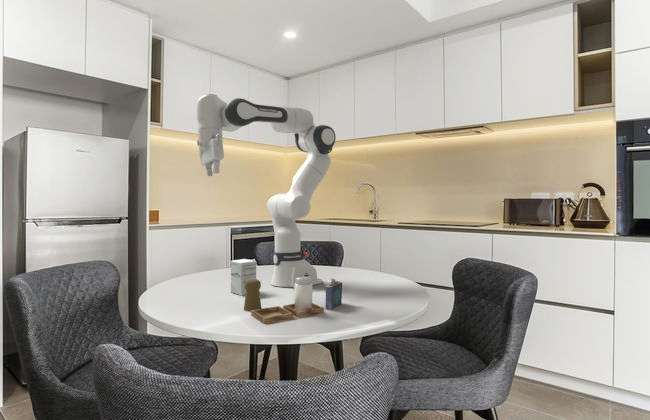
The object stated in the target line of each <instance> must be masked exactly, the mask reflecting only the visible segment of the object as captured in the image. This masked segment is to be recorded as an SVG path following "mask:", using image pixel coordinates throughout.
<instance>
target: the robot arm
mask: <svg viewBox="0 0 650 420" xmlns="http://www.w3.org/2000/svg"><path fill="white" fill-rule="evenodd" d="M196 120H197V123H198V125H197V142H196V143H197V147H198V151H199V159H200V164H201V166H205V171H206V175H207V177H213V176H214V175H213V174H219V173H220V166H221V161H222V160H223V159H224V157H225V153H224V145H223V142H224V140H223V131H224V132H228V133H229V132H230V133H231V132H232V133H233V132H235V131H238V130H239V129H241V128H243V127H245V126H247V125H250V124H252V123H254V122H255V123H256V122H258V123H270V126H271V128H272V129H273V131H275V132H276V133H281V134H294V142H295V145H296V148H297V149H298V150H299V151H300V152H303V153H307V157H306V158H305V159H306V160H304V161H303V163H302V164H301V166H300V167H299V168H298V170H297V171H296V173H295V174H294V175H293V177H292V180H291V182H292V184H291V186H290V189H289V190H288V191H287V192H286V193H277V194H275V195H273V196H271V197H270V198H269V199H268V200H267V204H266V209H267V211H268V213H269V215H270V218H271V221H272V226H273V230H274V251H273V265H274V266H273V272H272V277H271V281H270V284H271V286H273V287H274V286H275V287H281V288H294V289H295V282H296V277H303V276H305V277H311V282H312V286H314V285H318V284H319V285H320V284H323V279H321V278H319V277H318V272H317V269H316V268H315V267H314V265H312V264H311V263H310V262H308V261H307V260H306V259H305V258H308V257H309V253H308V252H307V251H301V231H300V230H299V228H298V226H297V223H296V221H297V220H301V219H303V218H306V217H307V216H308V214H309V213H310V212H311V211H310V210H311V203H310V202H311V200H312V199H311V198H312V196H313V194H314V193H315V191H316V190H317V187H319V185H320V184H321V182H322V180H323V179H324V178H325V176H326V174H327V172H328V170H329V168H330V165H331V163H332V159H331V156H330V155H329V154H330V153H332V152H333V147H334V146H335V143H336V132H335V130H334V129H333V128H332V127H331V126H329V125H325V124H320V125H315V123H314V115H313V113H312V112H311V111H310V110H309V109H305V108H302V107H297V106H273V105H263V104H257V103H254V102H251V101H249V100H248V99H245V98H242V97H241V98H240V97H239V98H238V97H237V98H234V99H232V100H231V101H230V102H229V103H227V102H225V100H222V98H219V96H218V95H217V94H213V93H212V94H205V95H202V96H200V97H199V98H198V100H197V102H196ZM212 165H213V168H212Z"/></svg>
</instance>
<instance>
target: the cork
mask: <svg viewBox="0 0 650 420" xmlns="http://www.w3.org/2000/svg"><path fill="white" fill-rule="evenodd" d="M261 285H262V283H261V280H259V279H257V278H256V279H250V280H247V281H246V282H245V284H244V287H245V289H246V295H244V296H245V297H244V305H243V310H244V311H245V312H250V313H251V310H257V309H263V308H262V301H261V296H260V295H261V294H260V289H261V287H262V286H261Z"/></svg>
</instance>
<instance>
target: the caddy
mask: <svg viewBox="0 0 650 420" xmlns="http://www.w3.org/2000/svg"><path fill="white" fill-rule="evenodd" d="M282 306H283V307H281V306H280V305H277V306H271V307H265V308H264V307H263V308H262V309H257V310H251V312H250V316H251V317H253V318H254V319H256V320H257V321H259V322H260V323H262V324H263V325H269V324H270V325H271V324H275V323H276V324H277V323H281V322H289V321H292V320H297V319H298V320H299V319H303V318H309V317H314V316H320V315H325V314H326V313H325V307H323V306H320V305H318V304H315V303H314V302H312V309H311V310H305V311H300V312H298V311H296V310H295V303H289V304H283V305H282Z"/></svg>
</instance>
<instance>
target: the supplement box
mask: <svg viewBox="0 0 650 420" xmlns="http://www.w3.org/2000/svg"><path fill="white" fill-rule="evenodd" d="M250 279H257V261H256V260H252V259H247V258H242V259H234V260H230V293H233V294H236V295H239V296H246V289H245V287H244V284H245V282H246V281H247V280H250Z"/></svg>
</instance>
